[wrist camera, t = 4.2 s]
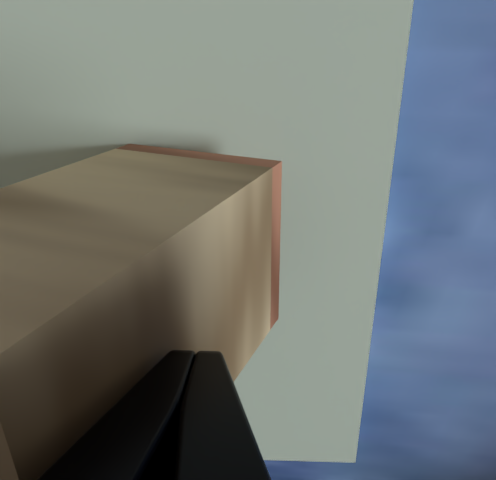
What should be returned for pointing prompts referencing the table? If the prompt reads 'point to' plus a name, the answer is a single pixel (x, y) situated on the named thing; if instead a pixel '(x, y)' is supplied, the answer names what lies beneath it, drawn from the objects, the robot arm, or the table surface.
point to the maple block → (126, 283)
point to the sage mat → (240, 144)
